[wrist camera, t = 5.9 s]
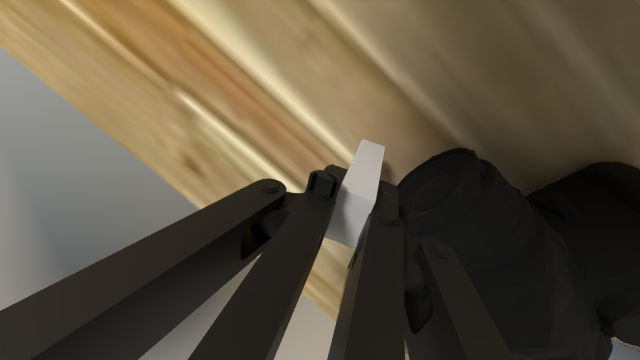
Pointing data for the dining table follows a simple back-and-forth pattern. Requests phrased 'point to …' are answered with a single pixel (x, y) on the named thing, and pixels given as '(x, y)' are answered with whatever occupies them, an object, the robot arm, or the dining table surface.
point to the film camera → (538, 250)
